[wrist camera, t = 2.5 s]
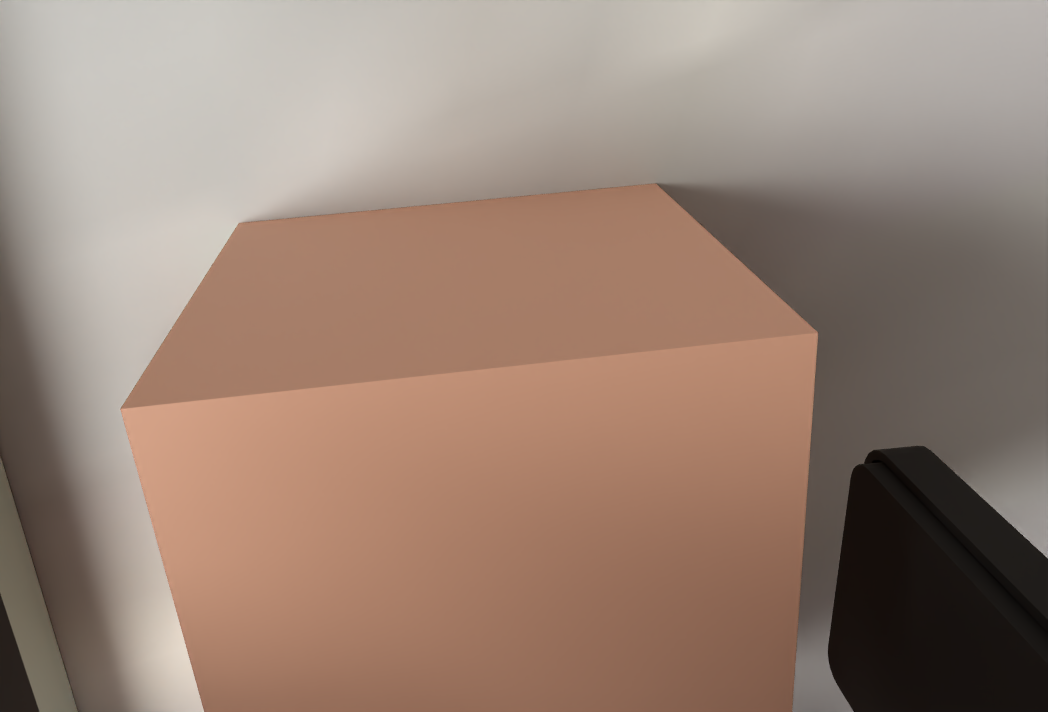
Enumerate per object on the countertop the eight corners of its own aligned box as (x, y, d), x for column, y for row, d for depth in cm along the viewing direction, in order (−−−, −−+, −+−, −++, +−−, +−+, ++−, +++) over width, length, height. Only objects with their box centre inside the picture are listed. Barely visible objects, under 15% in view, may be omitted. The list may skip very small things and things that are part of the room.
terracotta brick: (652, 180, 11) (817, 332, 7) (658, 679, 15) (771, 1009, 10) (240, 219, 11) (119, 409, 6) (340, 723, 14) (308, 1087, 10)
